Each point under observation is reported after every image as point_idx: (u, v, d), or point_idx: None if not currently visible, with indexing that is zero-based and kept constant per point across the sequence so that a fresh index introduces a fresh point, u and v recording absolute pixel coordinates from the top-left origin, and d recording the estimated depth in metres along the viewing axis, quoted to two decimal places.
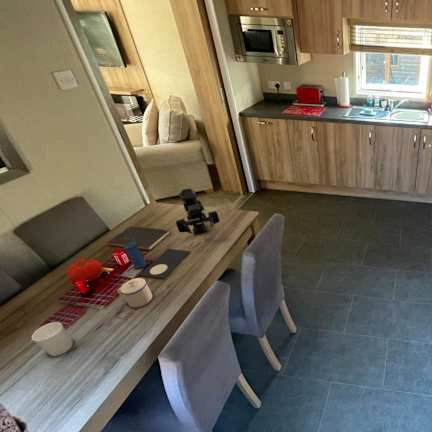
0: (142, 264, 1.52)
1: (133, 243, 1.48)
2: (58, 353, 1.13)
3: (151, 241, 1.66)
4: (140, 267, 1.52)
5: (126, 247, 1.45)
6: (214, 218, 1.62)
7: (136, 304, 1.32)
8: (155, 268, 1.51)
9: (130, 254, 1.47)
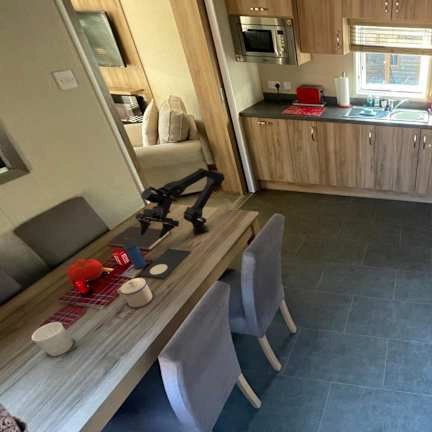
0: (142, 264, 1.52)
1: (133, 243, 1.48)
2: (58, 353, 1.13)
3: (151, 241, 1.66)
4: (140, 267, 1.52)
5: (126, 247, 1.45)
6: (169, 226, 1.52)
7: (136, 304, 1.32)
8: (155, 268, 1.51)
9: (130, 254, 1.47)
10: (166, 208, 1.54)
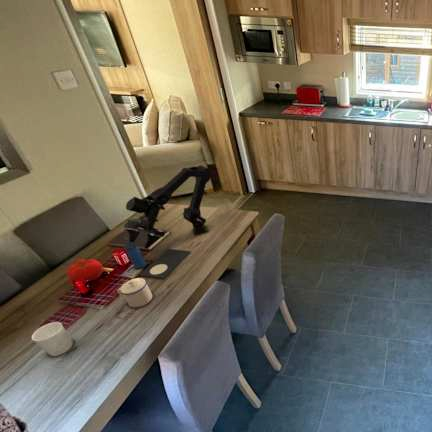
0: (142, 264, 1.52)
1: (133, 243, 1.48)
2: (58, 353, 1.13)
3: None
4: (140, 267, 1.52)
5: (126, 247, 1.45)
6: (154, 236, 1.50)
7: (136, 304, 1.32)
8: (155, 268, 1.51)
9: (130, 254, 1.47)
10: (152, 218, 1.52)
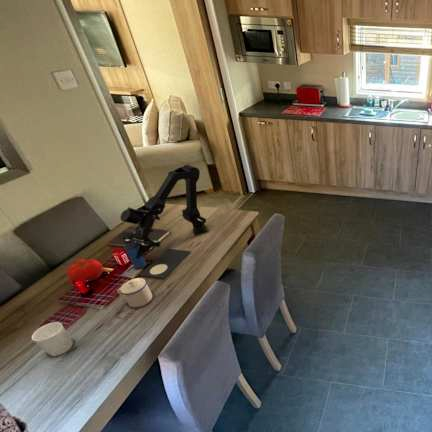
0: (142, 264, 1.52)
1: (133, 243, 1.48)
2: (58, 353, 1.13)
3: None
4: (140, 267, 1.52)
5: (126, 247, 1.45)
6: (146, 246, 1.49)
7: (136, 304, 1.32)
8: (155, 268, 1.51)
9: (130, 254, 1.47)
10: (147, 228, 1.50)
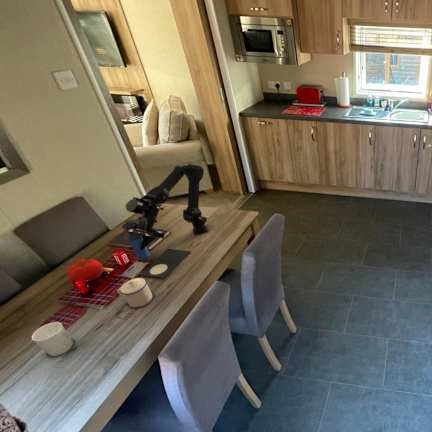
0: (146, 256, 1.47)
1: (137, 234, 1.43)
2: (58, 353, 1.13)
3: None
4: (144, 259, 1.47)
5: (129, 238, 1.40)
6: (150, 237, 1.44)
7: (136, 304, 1.32)
8: (155, 268, 1.51)
9: (134, 245, 1.42)
10: (151, 218, 1.46)
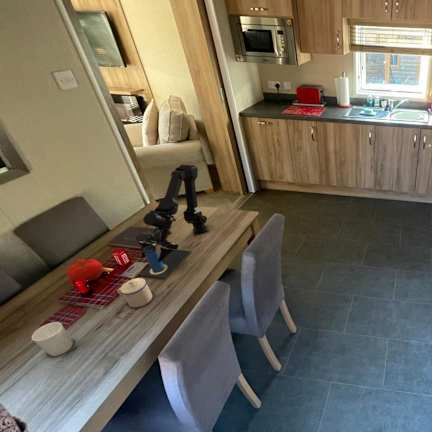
0: (160, 267, 1.49)
1: (152, 246, 1.45)
2: (58, 353, 1.13)
3: None
4: (158, 270, 1.49)
5: (145, 250, 1.43)
6: (168, 249, 1.46)
7: (136, 304, 1.32)
8: None
9: (149, 257, 1.44)
10: (165, 230, 1.48)
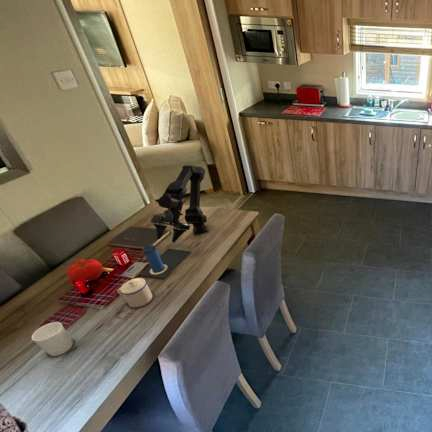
0: (160, 267, 1.49)
1: (152, 246, 1.45)
2: (58, 353, 1.13)
3: (151, 241, 1.66)
4: (158, 270, 1.49)
5: (145, 250, 1.43)
6: (180, 230, 1.50)
7: (136, 304, 1.32)
8: None
9: (149, 257, 1.44)
10: (176, 211, 1.52)
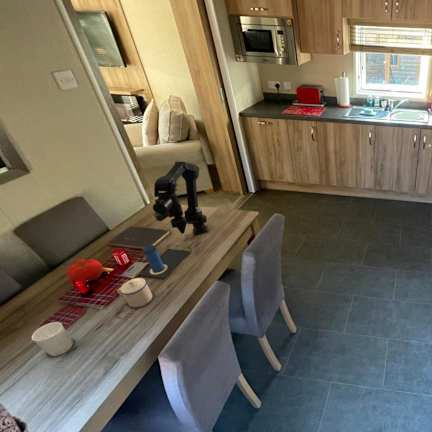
0: (160, 267, 1.49)
1: (152, 246, 1.45)
2: (58, 353, 1.13)
3: (151, 241, 1.66)
4: (158, 270, 1.49)
5: (145, 250, 1.43)
6: None
7: (136, 304, 1.32)
8: None
9: (149, 257, 1.44)
10: (171, 207, 1.49)
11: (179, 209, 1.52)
